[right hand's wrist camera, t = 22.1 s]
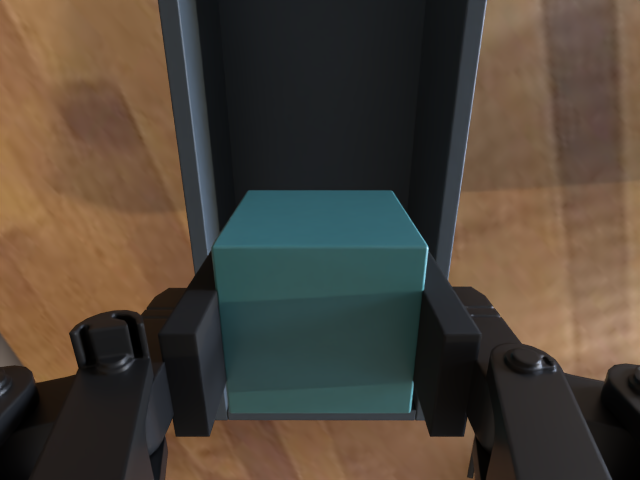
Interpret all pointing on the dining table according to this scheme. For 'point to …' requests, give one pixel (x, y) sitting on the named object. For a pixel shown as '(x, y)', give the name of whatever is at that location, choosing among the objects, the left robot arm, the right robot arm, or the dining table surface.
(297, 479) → the dining table surface
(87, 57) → the dining table surface
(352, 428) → the dining table surface
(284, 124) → the trough
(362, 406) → the teal block
